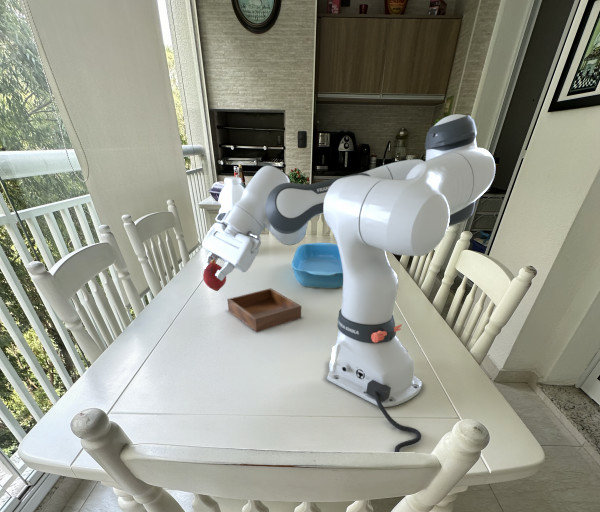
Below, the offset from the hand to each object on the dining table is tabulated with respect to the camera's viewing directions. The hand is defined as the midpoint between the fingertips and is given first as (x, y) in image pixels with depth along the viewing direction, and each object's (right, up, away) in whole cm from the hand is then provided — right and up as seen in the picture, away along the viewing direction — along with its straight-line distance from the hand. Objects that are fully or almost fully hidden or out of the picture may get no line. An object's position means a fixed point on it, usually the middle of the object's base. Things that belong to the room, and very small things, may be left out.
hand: (211, 274), depth 91 cm
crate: (+12, -6, +17) cm, 21 cm away
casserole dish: (+31, +16, +45) cm, 57 cm away
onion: (+1, -3, +3) cm, 5 cm away
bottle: (-4, +34, +66) cm, 74 cm away
